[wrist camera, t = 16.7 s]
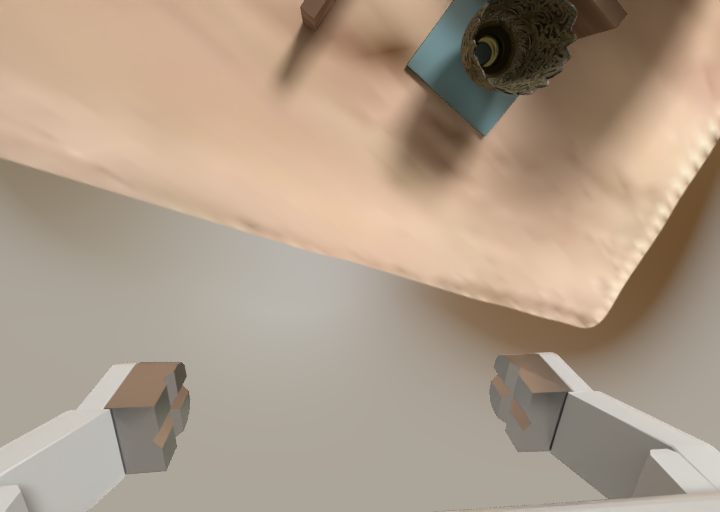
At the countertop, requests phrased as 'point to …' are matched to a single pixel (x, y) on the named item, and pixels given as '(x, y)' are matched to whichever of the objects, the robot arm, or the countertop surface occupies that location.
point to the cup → (519, 44)
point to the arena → (443, 54)
